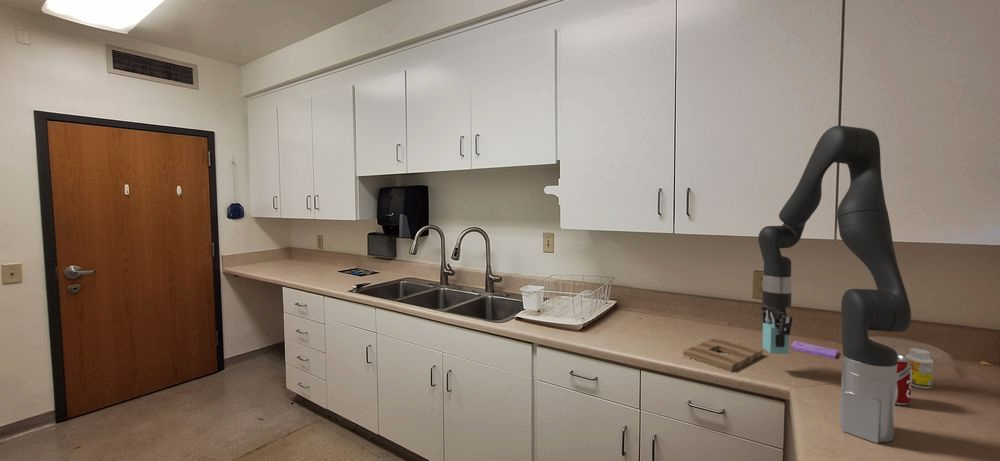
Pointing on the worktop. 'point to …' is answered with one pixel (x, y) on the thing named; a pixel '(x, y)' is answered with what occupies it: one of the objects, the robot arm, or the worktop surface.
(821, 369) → the worktop surface
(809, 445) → the worktop surface
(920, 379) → the supplement bottle
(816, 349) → the sponges
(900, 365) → the soda can
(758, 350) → the socket board
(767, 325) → the teal block
